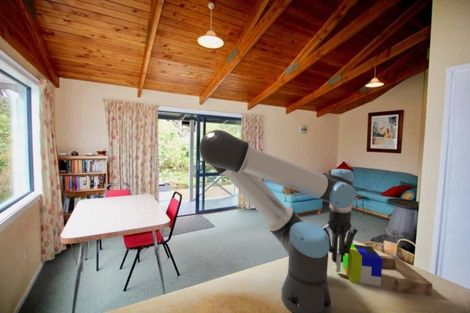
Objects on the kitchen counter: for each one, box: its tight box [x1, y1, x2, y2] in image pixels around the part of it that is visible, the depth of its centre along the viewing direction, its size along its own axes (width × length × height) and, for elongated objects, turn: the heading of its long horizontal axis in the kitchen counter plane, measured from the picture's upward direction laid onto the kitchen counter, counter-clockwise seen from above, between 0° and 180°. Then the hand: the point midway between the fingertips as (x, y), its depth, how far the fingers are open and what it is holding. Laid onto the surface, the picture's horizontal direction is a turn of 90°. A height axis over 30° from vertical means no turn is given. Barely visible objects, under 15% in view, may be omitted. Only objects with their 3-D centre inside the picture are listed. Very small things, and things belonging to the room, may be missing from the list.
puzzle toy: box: [342, 243, 383, 287], centre depth 84 cm, size 10×10×10 cm
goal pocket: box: [379, 255, 433, 296], centre depth 83 cm, size 11×18×4 cm, turn 177°
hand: (336, 269), depth 85 cm, fingers closed
